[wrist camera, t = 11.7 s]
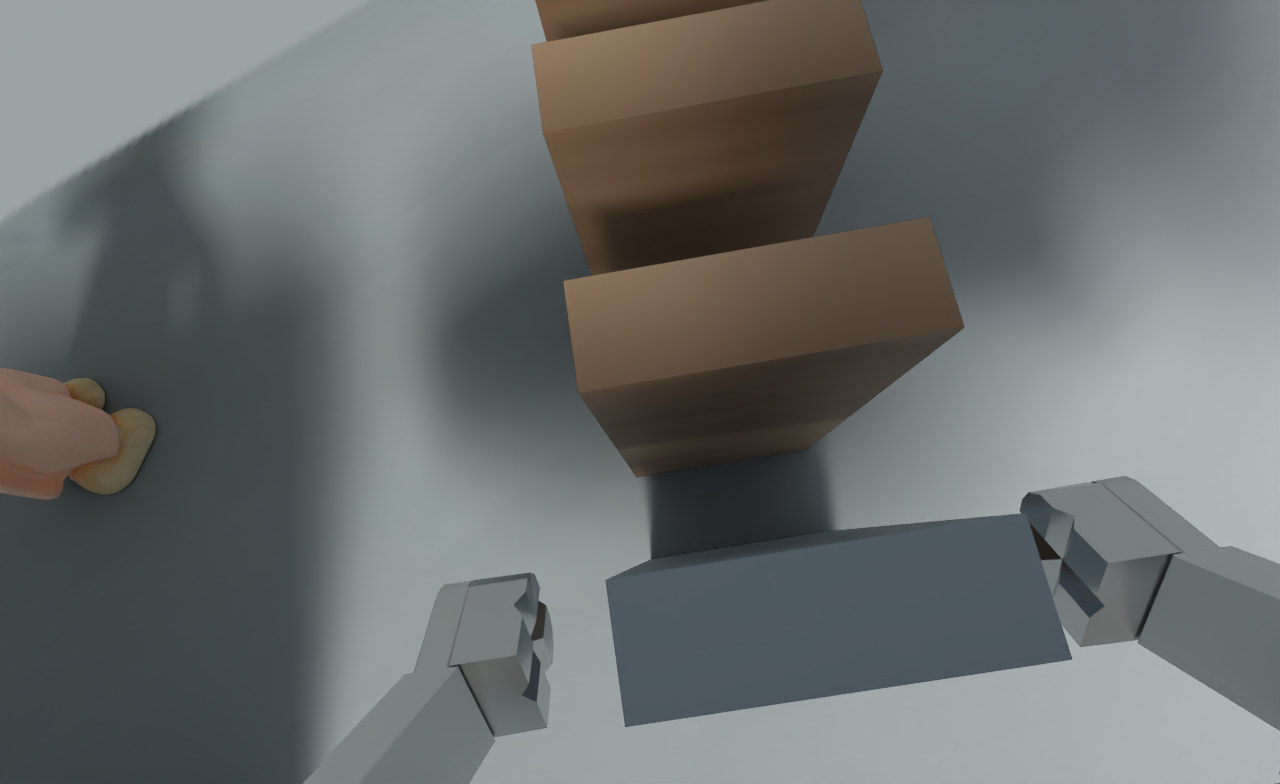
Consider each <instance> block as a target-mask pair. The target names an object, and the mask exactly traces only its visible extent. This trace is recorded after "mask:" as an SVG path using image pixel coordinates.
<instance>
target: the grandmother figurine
mask: <svg viewBox="0 0 1280 784" xmlns="http://www.w3.org/2000/svg"><path fill="white" fill-rule="evenodd" d="M104 404H105V393H104V391H103V389H102V388H101V387H100V386H99V385H98V384H97V383H96V382H95V381H94V380H92V379H88V378H78V379H73V380H70V381H67V382H65V383H62V382H60V381H58V380H56V379H54V378H49V377H45V376H41V375H36V374H32V373H28V372H24V371H19V370H13V369H6V368H1V367H0V493H3V494H8V495H15V496H22V497H29V498H36V499H42V500H51V499H54V498H56V497H58V496H60V493H61V491H62V490H63V482H64V480H65V478H66V477H67V476H68V475H69V478H70V479H71V480H74V481H75V482H77V483H78V484H79V485H80V486H81V487H83V488H85V489H87V490H90V491H92V492H94V493H98V494H104V495H106V494H113V493H117V492H119V491H121V490H122V489H124V488H125V487H126V486H128V485H129V484H130V483H131V481H132V480H133V479H134V477H135V476H136V474H137V472H138V470H139V468H140V466H141V465H142V462H143V460H144V458H145V456H146V454H147V452H148V450H149V448H150V446H151V444H152V441H153V440H154V437H155V433H156V424H155V421H154V419H153V418H152V416H151V415H149V414H148V413H146V412H144V411H142V410H139V409H136V408H127V409H122V410H119V411H116V412H114V413H112V414H111V415H109V414H107V413H106V412H105V411H103V410H102V409H103V407H104Z"/></svg>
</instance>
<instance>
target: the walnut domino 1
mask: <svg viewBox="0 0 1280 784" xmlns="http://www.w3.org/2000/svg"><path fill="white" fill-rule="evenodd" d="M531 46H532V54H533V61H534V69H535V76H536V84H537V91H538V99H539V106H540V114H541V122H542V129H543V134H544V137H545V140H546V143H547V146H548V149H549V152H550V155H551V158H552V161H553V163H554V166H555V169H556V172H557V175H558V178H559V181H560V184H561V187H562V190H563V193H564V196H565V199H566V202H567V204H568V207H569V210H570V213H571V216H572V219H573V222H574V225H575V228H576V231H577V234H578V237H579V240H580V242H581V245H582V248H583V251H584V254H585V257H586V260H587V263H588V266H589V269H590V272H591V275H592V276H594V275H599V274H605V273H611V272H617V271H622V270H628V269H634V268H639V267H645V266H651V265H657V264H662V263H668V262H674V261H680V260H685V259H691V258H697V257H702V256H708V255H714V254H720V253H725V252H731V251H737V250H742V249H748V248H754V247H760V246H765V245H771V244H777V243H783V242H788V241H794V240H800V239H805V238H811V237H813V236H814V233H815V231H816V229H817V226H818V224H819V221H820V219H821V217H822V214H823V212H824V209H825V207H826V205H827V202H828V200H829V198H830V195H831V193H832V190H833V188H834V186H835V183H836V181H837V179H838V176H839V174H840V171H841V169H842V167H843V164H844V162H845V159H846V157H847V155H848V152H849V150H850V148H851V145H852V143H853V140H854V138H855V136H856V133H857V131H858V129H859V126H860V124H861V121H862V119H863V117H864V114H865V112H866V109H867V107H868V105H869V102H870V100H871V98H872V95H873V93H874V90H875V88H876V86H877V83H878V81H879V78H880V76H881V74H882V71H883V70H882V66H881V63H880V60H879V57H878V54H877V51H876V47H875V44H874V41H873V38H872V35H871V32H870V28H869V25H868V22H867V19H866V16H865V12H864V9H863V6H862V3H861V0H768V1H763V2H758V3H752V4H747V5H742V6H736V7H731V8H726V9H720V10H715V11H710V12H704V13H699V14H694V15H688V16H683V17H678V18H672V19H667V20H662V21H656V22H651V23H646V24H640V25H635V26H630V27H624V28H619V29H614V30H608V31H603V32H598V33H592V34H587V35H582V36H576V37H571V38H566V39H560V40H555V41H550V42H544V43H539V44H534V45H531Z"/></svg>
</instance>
